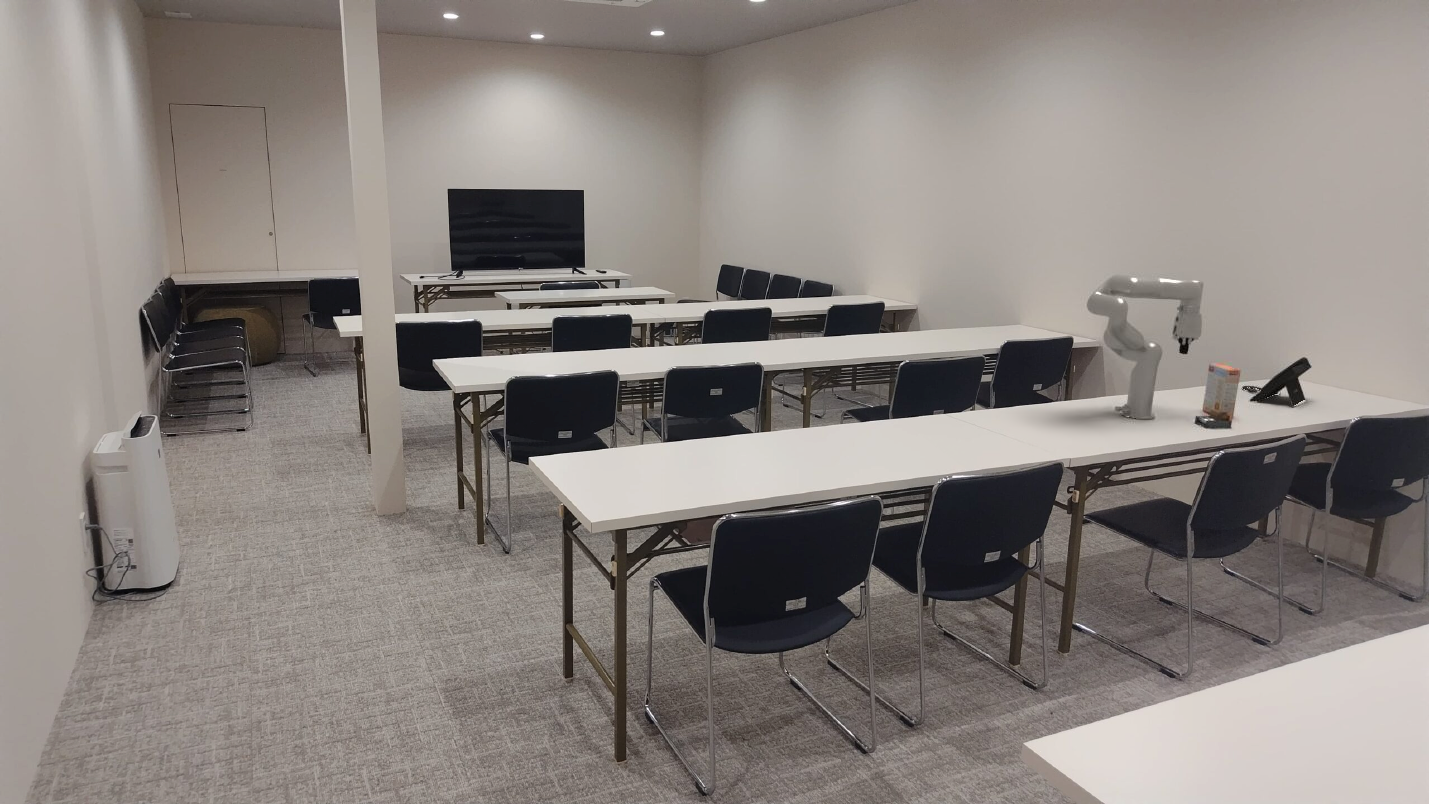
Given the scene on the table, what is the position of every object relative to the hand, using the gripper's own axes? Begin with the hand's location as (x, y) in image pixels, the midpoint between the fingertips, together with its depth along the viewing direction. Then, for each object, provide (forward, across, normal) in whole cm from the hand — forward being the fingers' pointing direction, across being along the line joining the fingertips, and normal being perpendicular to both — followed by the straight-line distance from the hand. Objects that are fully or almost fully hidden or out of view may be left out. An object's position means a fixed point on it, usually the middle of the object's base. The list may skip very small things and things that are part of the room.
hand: (1183, 353), depth 372 cm
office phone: (+26, +60, +24) cm, 69 cm away
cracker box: (+25, +15, -6) cm, 30 cm away
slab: (+22, +4, -22) cm, 31 cm away
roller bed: (+25, +2, -22) cm, 33 cm away
